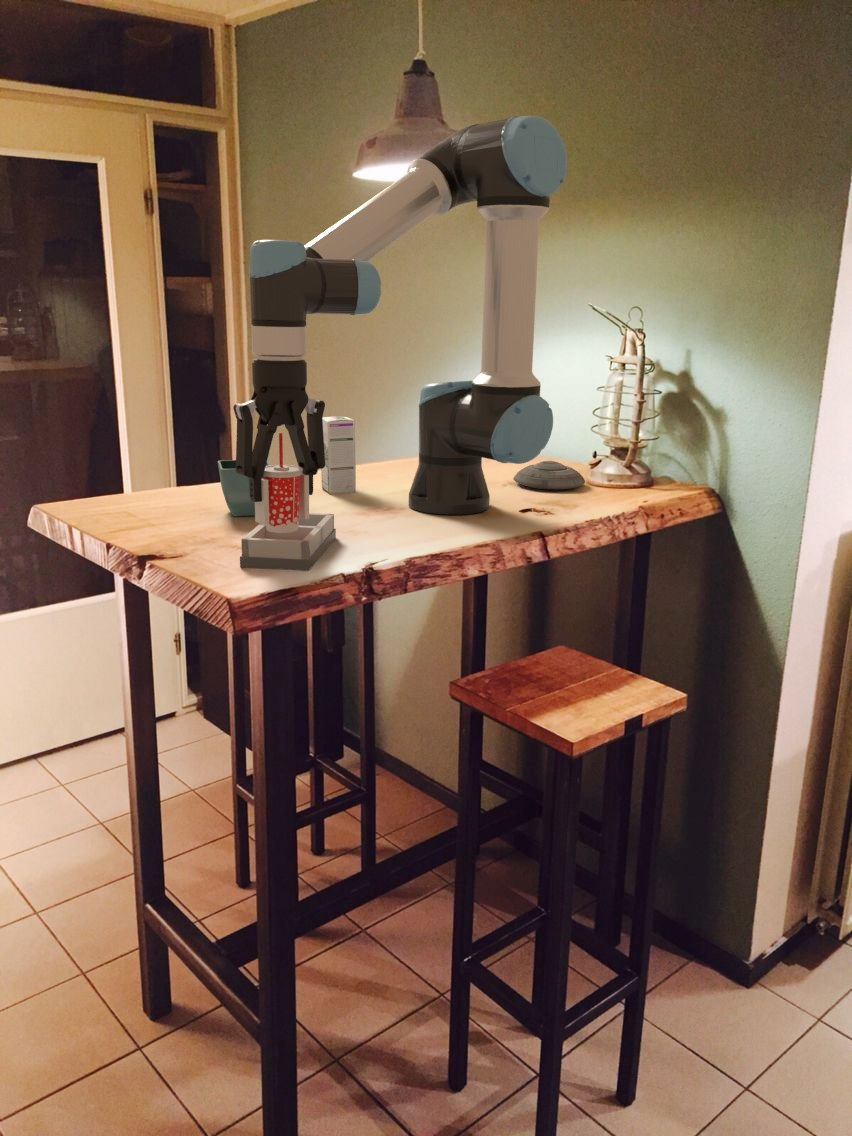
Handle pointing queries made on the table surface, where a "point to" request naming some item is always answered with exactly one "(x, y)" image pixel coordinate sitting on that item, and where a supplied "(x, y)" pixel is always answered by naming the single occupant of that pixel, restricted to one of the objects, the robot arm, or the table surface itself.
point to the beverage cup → (283, 495)
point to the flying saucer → (549, 476)
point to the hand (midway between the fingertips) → (282, 520)
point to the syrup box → (339, 455)
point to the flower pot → (236, 489)
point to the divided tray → (289, 544)
